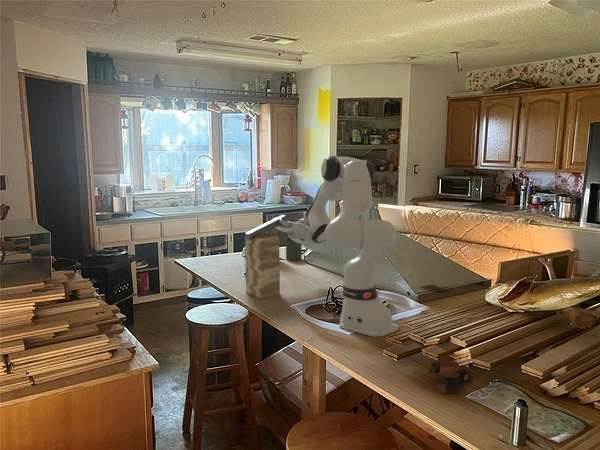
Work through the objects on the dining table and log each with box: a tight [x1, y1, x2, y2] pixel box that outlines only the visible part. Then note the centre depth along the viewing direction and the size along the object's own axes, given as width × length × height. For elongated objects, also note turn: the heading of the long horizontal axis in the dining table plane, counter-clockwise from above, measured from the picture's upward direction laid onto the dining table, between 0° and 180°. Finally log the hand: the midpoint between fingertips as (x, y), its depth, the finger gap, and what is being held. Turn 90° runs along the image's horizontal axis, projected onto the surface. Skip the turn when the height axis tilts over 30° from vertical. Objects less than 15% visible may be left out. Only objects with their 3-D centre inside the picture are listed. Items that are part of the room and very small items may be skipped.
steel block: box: [244, 214, 288, 240], centre depth 213 cm, size 3×21×3 cm, turn 130°
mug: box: [285, 237, 309, 262], centre depth 280 cm, size 14×9×12 cm
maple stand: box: [244, 231, 281, 300], centre depth 214 cm, size 12×10×27 cm
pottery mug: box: [428, 361, 475, 394], centre depth 133 cm, size 12×10×8 cm
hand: (276, 219), depth 216 cm, fingers closed on steel block, 3 cm apart
